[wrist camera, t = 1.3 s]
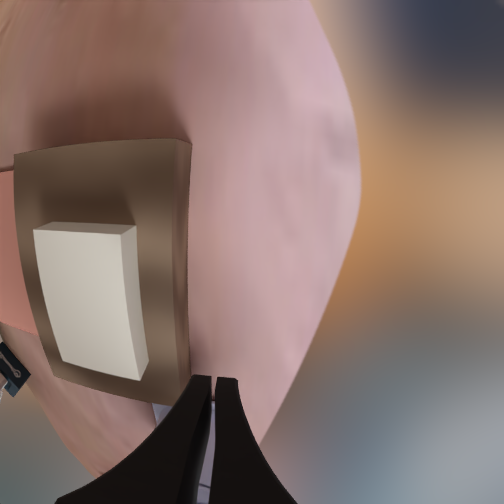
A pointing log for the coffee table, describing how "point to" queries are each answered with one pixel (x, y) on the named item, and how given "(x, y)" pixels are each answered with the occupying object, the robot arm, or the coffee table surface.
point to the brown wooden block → (148, 245)
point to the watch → (11, 372)
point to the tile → (93, 295)
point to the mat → (12, 264)
